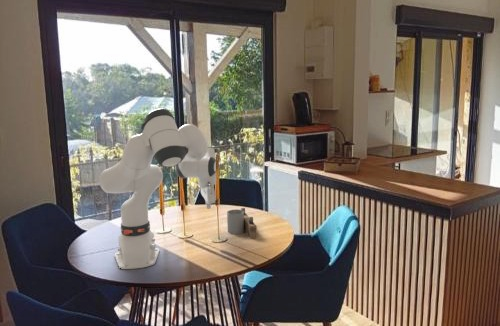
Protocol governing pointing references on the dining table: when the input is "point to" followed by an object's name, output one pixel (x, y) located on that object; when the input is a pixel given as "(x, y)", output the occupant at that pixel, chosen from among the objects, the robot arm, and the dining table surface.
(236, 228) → the cup
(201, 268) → the dining table surface
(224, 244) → the dining table surface
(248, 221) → the stop fence
